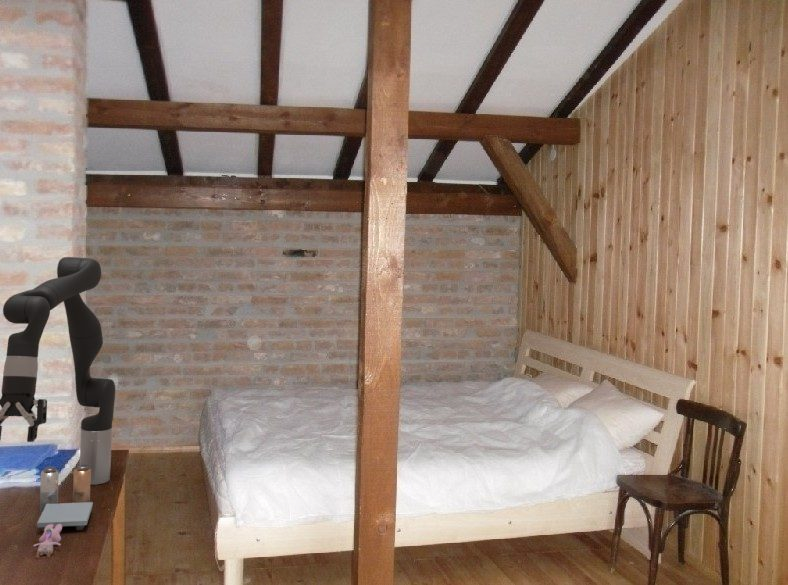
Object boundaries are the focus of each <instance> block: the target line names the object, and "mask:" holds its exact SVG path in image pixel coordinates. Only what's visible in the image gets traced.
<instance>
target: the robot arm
mask: <svg viewBox="0 0 788 585" xmlns="http://www.w3.org/2000/svg"><path fill="white" fill-rule="evenodd" d="M56 274H57V277H56V278H51V279H49V280H46V281H44V282H42V283H40V284H39V285H37V286H36V287H34V288H33V289H29V290H25V291H21V292H19V293H16V294H13V295H11V296H10V297H8V299H6V301H5V302H4V304H3V306H2V307H3V308H2V314H3V317H4V318H5V320H6V321H8V322H10V323H12V324H15V325H16V324H17V325H18V324H19V325H21V324H23V325H27V326H26V327H25V329H24V330H23V331H19V332H15V333H12V334H9V336H8V340H7V347H6V348H7V349H6V357H5V362H4V365H3V371H2V374H3V375H2V384H1V385H2V386H1V397H0V407H1V409H0V441H1V439H2V431H3V430H2V429H3V425H2V424H3V423H4V422H5V420H6V419H8V418H9V417H23V419H25V421H26V422H27V424H28V425H29V426H28V427H27V437H26V441H27V443H33V442H35V440H36V439H37V437H38V429H39V428H38V427H39V426H40V425H44V424H46V423H47V420H48V418H47V415H48V400H47V399H45V398H39V399H35V394H36V390H37V389H36V388H37V380H38V378H37V377H38V372H39V371H38V368H39V362H38V360H39V359H38V358H39V349H40V348H39V347H40V341H41V339H42V335H43V333H44V330H45V328H46V326H47V322H48V320H49V318H50V314H51V310H53V309H55V308H56V307H58V306H59V305H60V304H61V303H63V304H64V308H65V315H66V321H67V327H68V335H69V337H68V338H69V341H70V347H71V353H72V357H73V358H72V359H73V364H74V365H73V366H74V375H75V376H74V380H75V394H76V395H75V396H76V400H77V402H78V404H79V405H80V406H82V407H86V408H87V407H89V408H99V410H98V413H96V414H94V415H90V416H87V417H84V418H82V420H81V421H80V422H81V423H80V424H81V425H80V446H79V447H80V448H79V465H88V468H91V485H90V486H92V485H101V484H105V483H107V482H109V481H111V461H112V437H113V435H112V433H113V432H112V431H113V421H114V420H113V419H114V414H115V413H114V410H115V409H114V408H115V399H116V384H115V382H114V380H113V379H111V378H99V377H92V376H91V366H92V365H93V362H94V360H95V359H96V357H97V356H98V355H99V353H100V351H101V350H102V348H103V343H104V341H103V340H104V338H103V331H102V325H101V323H100V320H99V319H98V317H97V316H96V315H95V313H94V312H93V311H92V310H91V308H90V307H89V306H87V304H86V302H84V300H83V298H82V297H81V294H82V293H84V292H87V291H89V290H92V289H95V288H96V287H97V286H98V285H99V284H100V282H101V279H102V278H101V277H102V267H101V264H100V263H99V262H98V260H96V259H93V258H88V257H77V256H76V257H74V256H64V257H62V258H60V260H59V261H58V263H57V267H56ZM34 406H35V408H36V414H35V412H34V410H33V408H34Z"/></svg>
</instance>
